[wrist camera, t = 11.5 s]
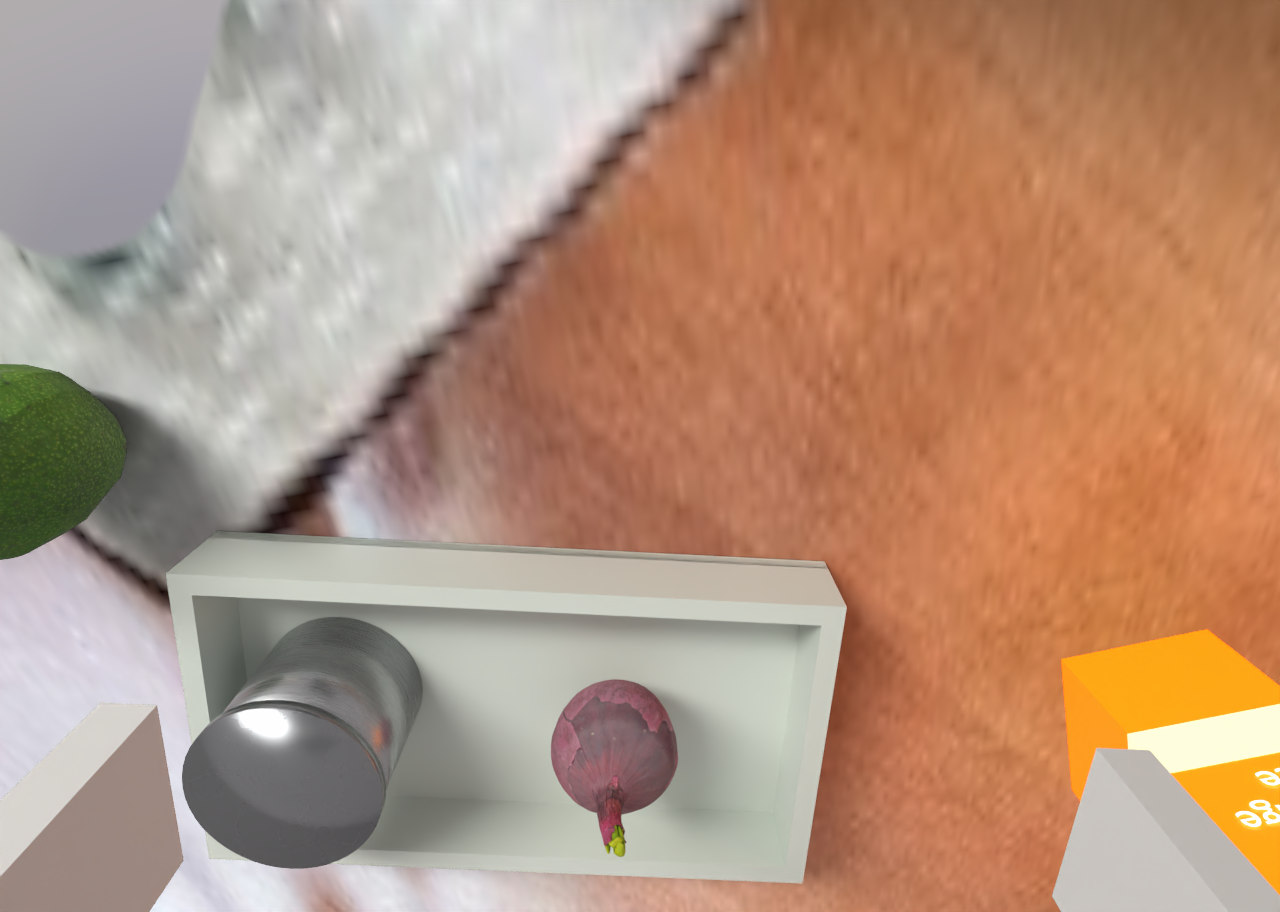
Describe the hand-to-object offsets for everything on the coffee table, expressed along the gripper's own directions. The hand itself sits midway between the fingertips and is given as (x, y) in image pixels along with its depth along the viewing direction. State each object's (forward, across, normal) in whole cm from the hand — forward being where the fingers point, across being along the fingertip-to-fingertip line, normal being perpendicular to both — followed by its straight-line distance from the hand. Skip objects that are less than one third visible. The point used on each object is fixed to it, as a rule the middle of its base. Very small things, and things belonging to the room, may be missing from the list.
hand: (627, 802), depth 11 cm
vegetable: (+26, 0, -17) cm, 31 cm away
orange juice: (+27, +28, -17) cm, 42 cm away
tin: (+26, -14, -17) cm, 34 cm away
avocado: (+27, -26, -4) cm, 38 cm away
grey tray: (+26, -5, -17) cm, 32 cm away
